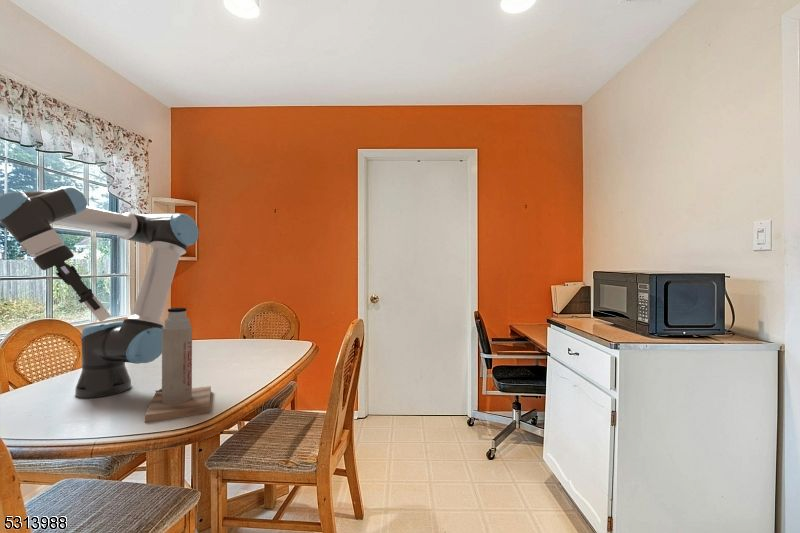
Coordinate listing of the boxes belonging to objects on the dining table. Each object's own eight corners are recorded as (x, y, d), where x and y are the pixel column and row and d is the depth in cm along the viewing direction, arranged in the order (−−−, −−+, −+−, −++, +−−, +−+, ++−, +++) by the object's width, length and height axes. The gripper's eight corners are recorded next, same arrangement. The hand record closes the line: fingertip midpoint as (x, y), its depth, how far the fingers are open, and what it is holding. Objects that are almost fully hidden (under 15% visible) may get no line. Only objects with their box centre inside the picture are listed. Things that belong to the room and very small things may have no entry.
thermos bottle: (197, 395, 122) (198, 307, 122) (178, 405, 114) (178, 310, 114) (175, 393, 124) (176, 306, 123) (155, 402, 116) (155, 309, 116)
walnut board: (155, 398, 125) (155, 392, 125) (210, 391, 132) (210, 386, 132) (144, 422, 107) (144, 415, 107) (209, 413, 114) (209, 406, 114)
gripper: (33, 258, 108) (85, 319, 116) (29, 257, 89) (92, 330, 97) (63, 244, 112) (112, 304, 120) (66, 241, 94) (123, 312, 101)
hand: (103, 316), depth 108 cm, fingers open, 13 cm apart
